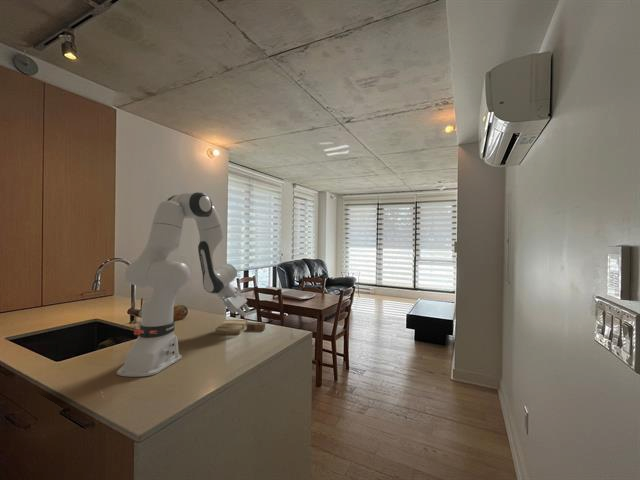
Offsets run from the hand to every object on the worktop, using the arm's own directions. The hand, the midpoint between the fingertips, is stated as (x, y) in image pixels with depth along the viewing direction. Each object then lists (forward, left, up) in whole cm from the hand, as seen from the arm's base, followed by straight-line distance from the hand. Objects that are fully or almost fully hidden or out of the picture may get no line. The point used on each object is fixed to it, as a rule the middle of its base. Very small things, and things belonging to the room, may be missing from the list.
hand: (246, 313), depth 153 cm
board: (0, +8, -8) cm, 11 cm away
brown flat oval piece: (+14, +46, -9) cm, 49 cm away
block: (0, 0, -7) cm, 7 cm away
